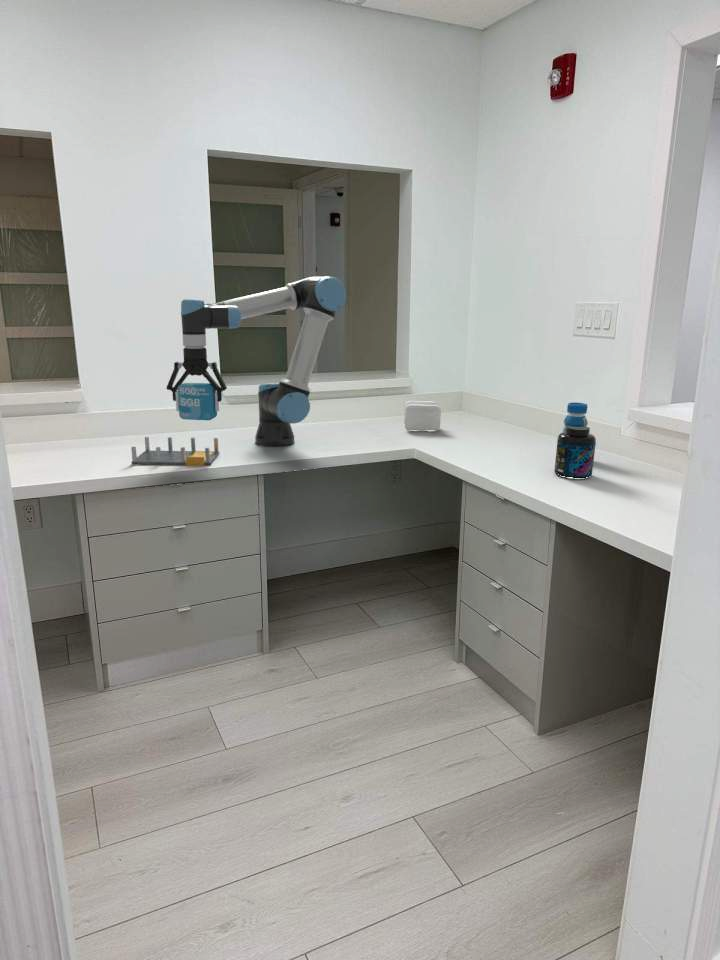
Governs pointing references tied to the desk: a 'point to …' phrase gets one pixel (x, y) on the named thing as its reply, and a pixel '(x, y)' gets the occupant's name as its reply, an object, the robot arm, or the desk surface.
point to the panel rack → (175, 455)
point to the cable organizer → (422, 415)
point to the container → (575, 452)
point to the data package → (196, 401)
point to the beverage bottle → (575, 415)
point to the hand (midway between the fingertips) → (198, 410)
